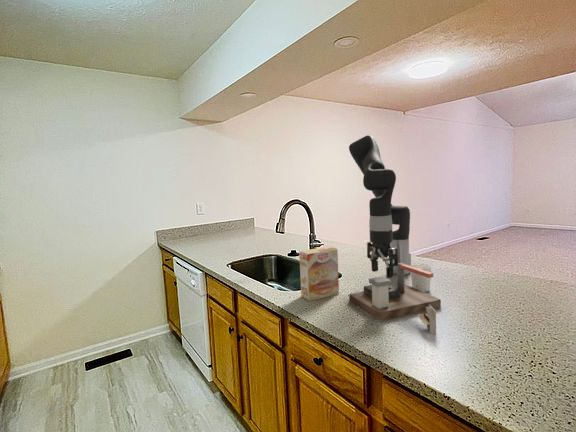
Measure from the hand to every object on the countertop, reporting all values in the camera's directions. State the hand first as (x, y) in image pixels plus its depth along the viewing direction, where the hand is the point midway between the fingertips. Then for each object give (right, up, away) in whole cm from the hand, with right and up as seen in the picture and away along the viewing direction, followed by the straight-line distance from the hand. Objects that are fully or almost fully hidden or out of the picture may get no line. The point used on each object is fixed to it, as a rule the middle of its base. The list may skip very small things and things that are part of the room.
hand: (382, 274), depth 114 cm
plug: (0, -11, +2) cm, 12 cm away
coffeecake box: (-19, -13, +24) cm, 34 cm away
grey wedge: (+12, -16, -11) cm, 23 cm away
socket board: (+7, -13, +10) cm, 18 cm away
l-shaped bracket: (+14, -10, +8) cm, 19 cm away
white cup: (+23, -11, +24) cm, 35 cm away
